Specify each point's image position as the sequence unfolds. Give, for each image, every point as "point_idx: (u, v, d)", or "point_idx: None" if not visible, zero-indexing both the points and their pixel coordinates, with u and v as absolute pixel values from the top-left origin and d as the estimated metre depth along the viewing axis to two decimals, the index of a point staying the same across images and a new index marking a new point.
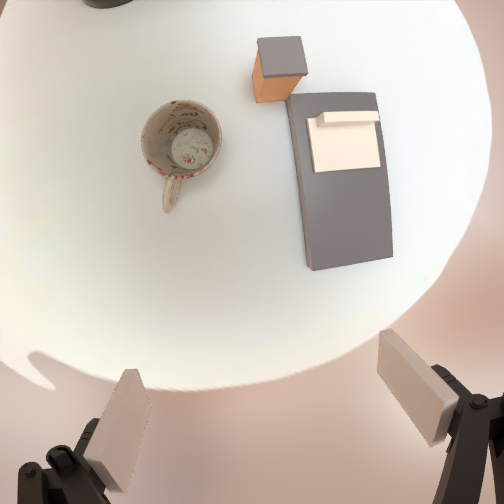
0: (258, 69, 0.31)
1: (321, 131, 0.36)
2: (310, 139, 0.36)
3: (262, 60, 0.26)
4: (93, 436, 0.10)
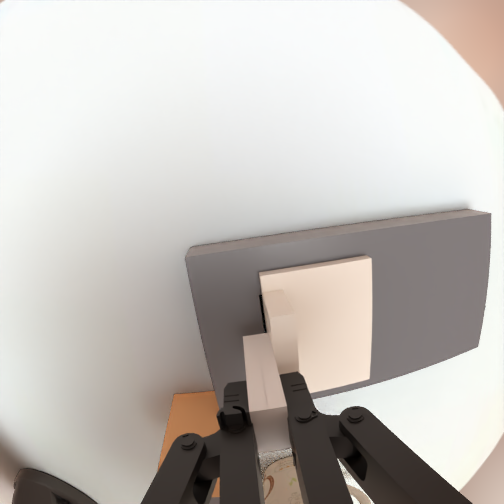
0: None
1: None
2: None
3: None
4: (249, 393, 0.12)
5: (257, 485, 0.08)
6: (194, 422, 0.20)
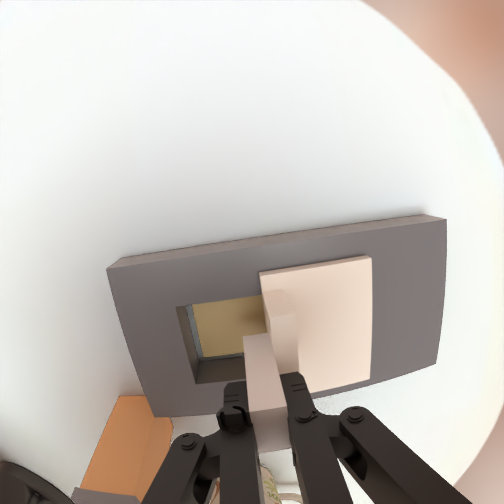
0: None
1: None
2: None
3: None
4: (249, 393, 0.12)
5: (257, 485, 0.08)
6: (129, 424, 0.20)
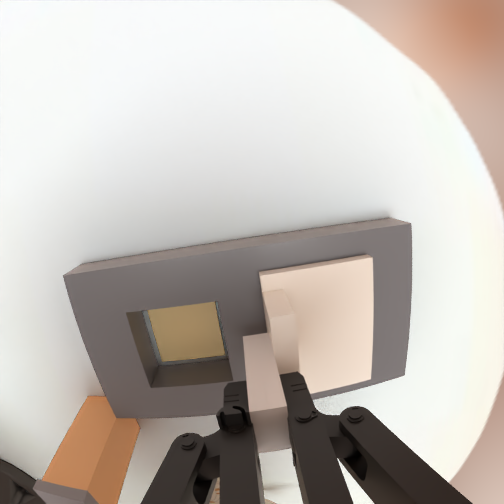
0: None
1: None
2: None
3: None
4: (249, 393, 0.12)
5: (257, 485, 0.08)
6: (93, 423, 0.20)
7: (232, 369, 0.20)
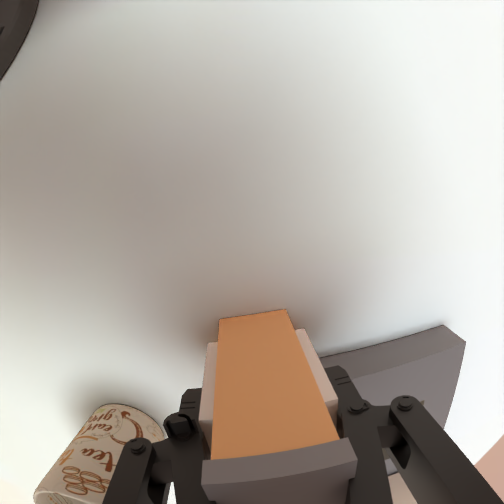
0: None
1: None
2: None
3: None
4: (202, 402, 0.12)
5: None
6: None
7: None
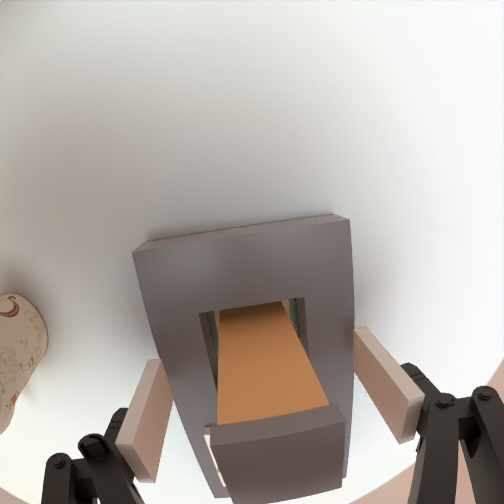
0: None
1: None
2: (212, 455, 0.19)
3: (228, 486, 0.09)
4: (123, 424, 0.10)
5: None
6: None
7: None
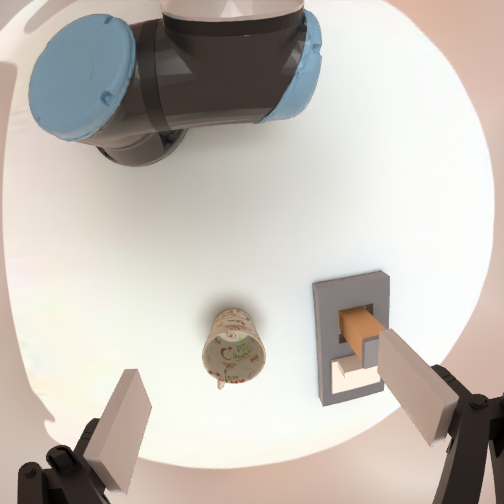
0: (353, 337, 0.43)
1: None
2: (332, 374, 0.48)
3: (364, 358, 0.38)
4: (93, 436, 0.10)
5: None
6: None
7: (344, 343, 0.48)
